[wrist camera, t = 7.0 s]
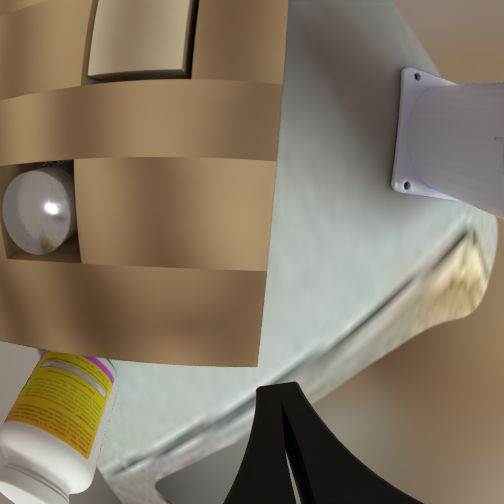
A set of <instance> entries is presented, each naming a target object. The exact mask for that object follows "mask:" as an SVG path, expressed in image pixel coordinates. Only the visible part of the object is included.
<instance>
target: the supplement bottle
mask: <svg viewBox="0 0 504 504" xmlns="http://www.w3.org/2000/svg"><path fill="white" fill-rule="evenodd" d="M118 388H119V382H118V377H117V374H116V372H115V370H114V368H113V366H112V365H111V364H110V362H109V361H108V360H107V359H106V358H97V357H90V356H82V355H75V354H69V353H62V352H56V351H50V350H46V351H45V353H44V354H43V356H42V357H41V359H40V361H39V362H38V364H37V365H36V367H35V369H34V370H33V372H32V374H31V375H30V377H29V379H28V381H27V382H26V384H25V386H24V387H23V389H22V391H21V393H20V394H19V396H18V398H17V400H16V401H15V403H14V405H13V407H12V409H11V411H10V412H9V414H8V416H7V418H6V420H5V422H4V424H3V426H2V428H1V430H0V447H1V450H2V452H3V454H4V456H5V457H6V458H7V462H6V464H5V465H3V466H2V467H1V468H0V492H1V493H3V494H4V495H5V496H6V497H7V498H8V499H10V500H11V501H13V502H14V503H15V504H69V499H68V497H69V494H72V493H79V492H82V491H84V490H86V489H87V488H88V487H89V486H90V485H91V482H92V480H93V476H94V473H95V469H96V465H97V461H98V457H99V453H100V450H101V446H102V442H103V439H104V435H105V432H106V429H107V425H108V422H109V418H110V415H111V412H112V409H113V406H114V402H115V399H116V396H117V392H118Z"/></svg>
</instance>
